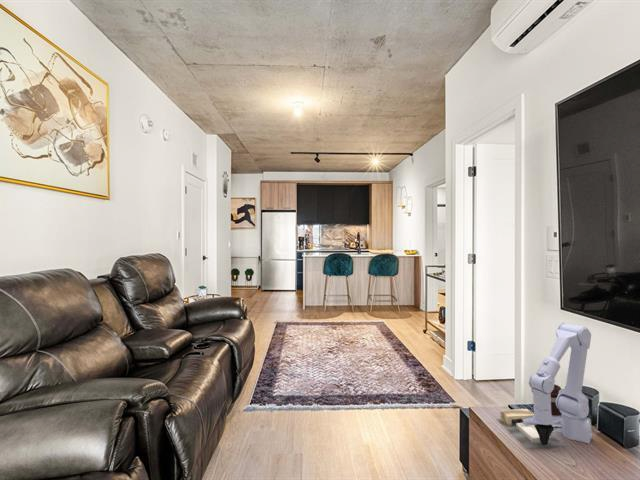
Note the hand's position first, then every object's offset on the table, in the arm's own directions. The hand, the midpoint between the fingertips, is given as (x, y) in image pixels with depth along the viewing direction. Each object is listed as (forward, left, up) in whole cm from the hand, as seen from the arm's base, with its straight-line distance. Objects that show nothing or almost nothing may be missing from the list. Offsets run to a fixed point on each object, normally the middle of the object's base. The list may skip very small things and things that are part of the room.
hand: (544, 443), depth 139 cm
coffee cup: (+2, -25, -2) cm, 25 cm away
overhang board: (+7, -7, -1) cm, 10 cm away
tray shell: (+5, -5, -1) cm, 7 cm away
